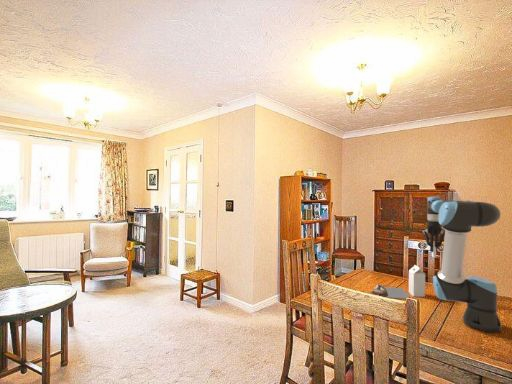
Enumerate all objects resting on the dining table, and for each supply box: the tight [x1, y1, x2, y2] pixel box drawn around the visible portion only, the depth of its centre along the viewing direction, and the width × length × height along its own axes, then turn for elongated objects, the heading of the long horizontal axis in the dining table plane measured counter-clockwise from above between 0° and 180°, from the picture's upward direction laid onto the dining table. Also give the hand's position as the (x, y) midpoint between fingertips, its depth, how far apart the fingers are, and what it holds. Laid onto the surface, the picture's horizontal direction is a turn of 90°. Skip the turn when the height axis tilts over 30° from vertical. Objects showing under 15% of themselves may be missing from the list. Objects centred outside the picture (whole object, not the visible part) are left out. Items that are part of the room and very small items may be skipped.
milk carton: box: [408, 264, 426, 298], centre depth 179 cm, size 7×7×19 cm
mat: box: [385, 286, 411, 300], centre depth 182 cm, size 20×17×1 cm
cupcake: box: [370, 284, 388, 297], centre depth 167 cm, size 10×10×10 cm
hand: (433, 256), depth 177 cm, fingers closed
